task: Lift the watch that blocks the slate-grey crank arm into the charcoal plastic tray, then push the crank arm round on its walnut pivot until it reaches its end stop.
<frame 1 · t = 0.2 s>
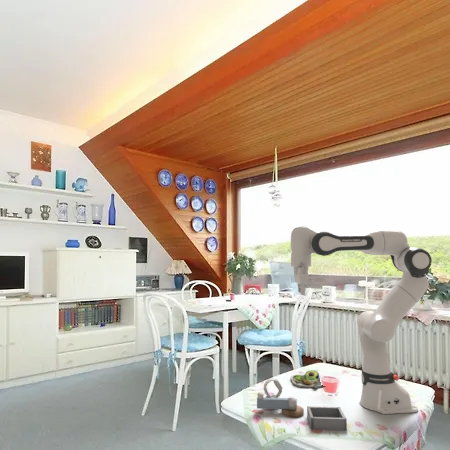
hand: (301, 293, 171), 47 cm above the table, tool pointing down, fingers open, 8 cm apart
avocado toast plate: (308, 383, 195), on the table
crank arm: (276, 400, 159), point 5 cm above the table, hinge at 0.0°
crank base: (292, 412, 158), on the table
watch: (273, 405, 166), on the table
tray: (326, 423, 148), on the table
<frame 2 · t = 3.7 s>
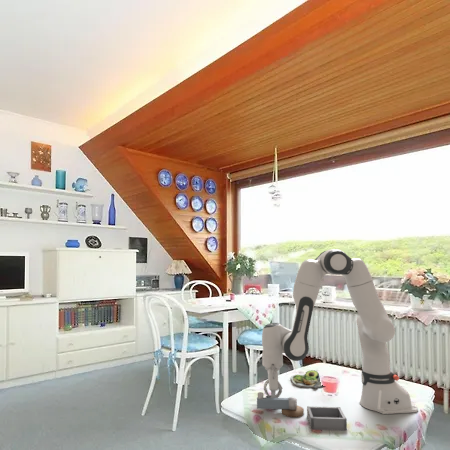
hand: (273, 393, 166), 5 cm above the table, tool pointing down, fingers closed on watch, 4 cm apart
watch: (273, 405, 166), on the table, touching gripper
everything else where it was.
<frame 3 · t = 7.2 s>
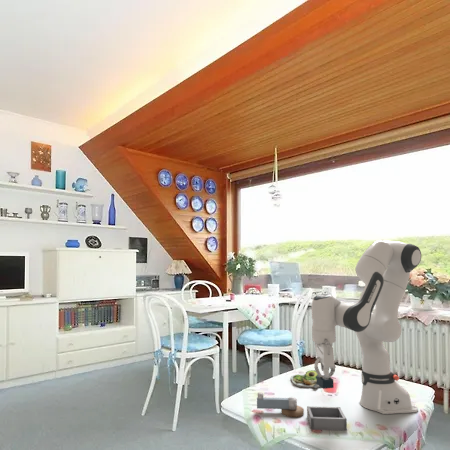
hand: (324, 372, 149), 19 cm above the table, tool pointing down, fingers closed on watch, 4 cm apart
watch: (325, 386, 149), point 14 cm above the table, touching gripper
everything else where it was.
when the fingers open (7 cm above the table, at t = 9.8 s): watch drops 1 cm, resting on tray.
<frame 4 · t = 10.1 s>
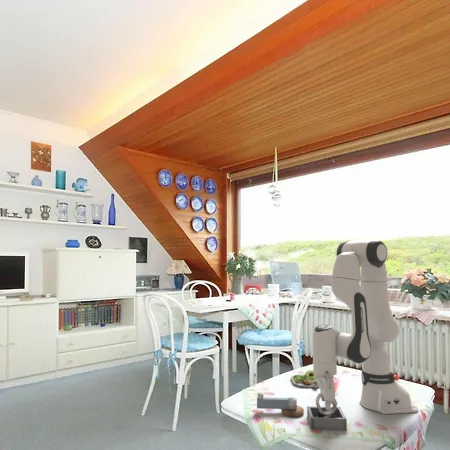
hand: (325, 404, 148), 7 cm above the table, tool pointing down, fingers open, 7 cm apart
watch: (326, 422, 147), point 1 cm above the table, touching tray
everything else where it was.
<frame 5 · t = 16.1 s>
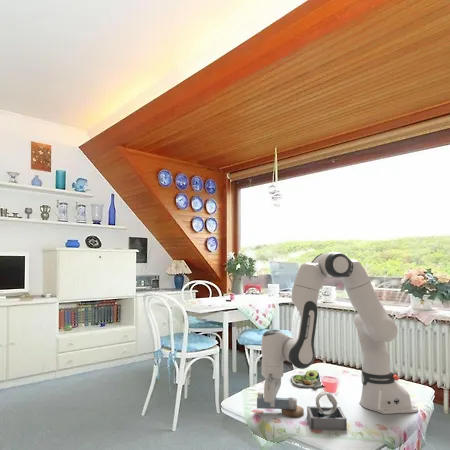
hand: (273, 405, 156), 4 cm above the table, tool pointing down, fingers closed
crank arm: (276, 400, 159), point 5 cm above the table, hinge at 0.1°, touching gripper
everything else where it was.
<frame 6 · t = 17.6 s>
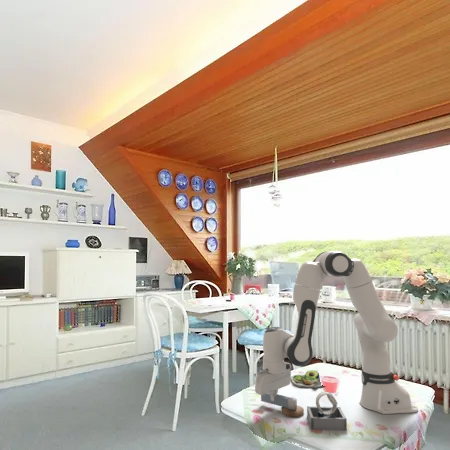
hand: (273, 400, 161), 4 cm above the table, tool pointing down, fingers closed
crank arm: (278, 397, 162), point 5 cm above the table, hinge at 33.0°, touching gripper
everything else where it was.
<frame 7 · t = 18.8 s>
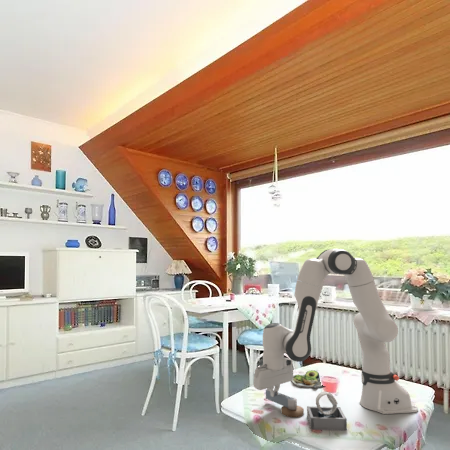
hand: (274, 395, 163), 5 cm above the table, tool pointing down, fingers closed
crank arm: (280, 396, 163), point 5 cm above the table, hinge at 47.0°, touching gripper
everything else where it was.
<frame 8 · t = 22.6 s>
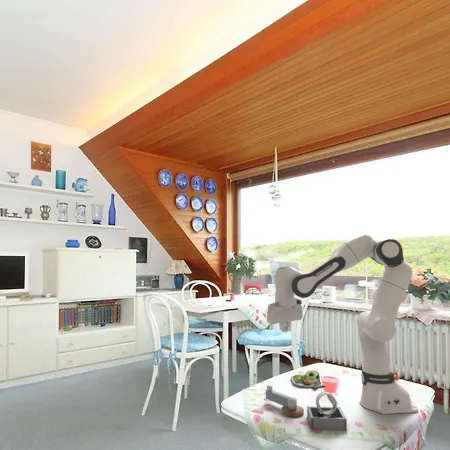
hand: (285, 331, 178), 29 cm above the table, tool pointing down, fingers closed
crank arm: (280, 396, 163), point 5 cm above the table, hinge at 47.0°
everything else where it was.
at the end: watch 0.9 cm off-centre on the tray, point 0.6 cm above the tray's base; watch tilted 0°; crank arm at +47° (first picture: +0°) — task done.
